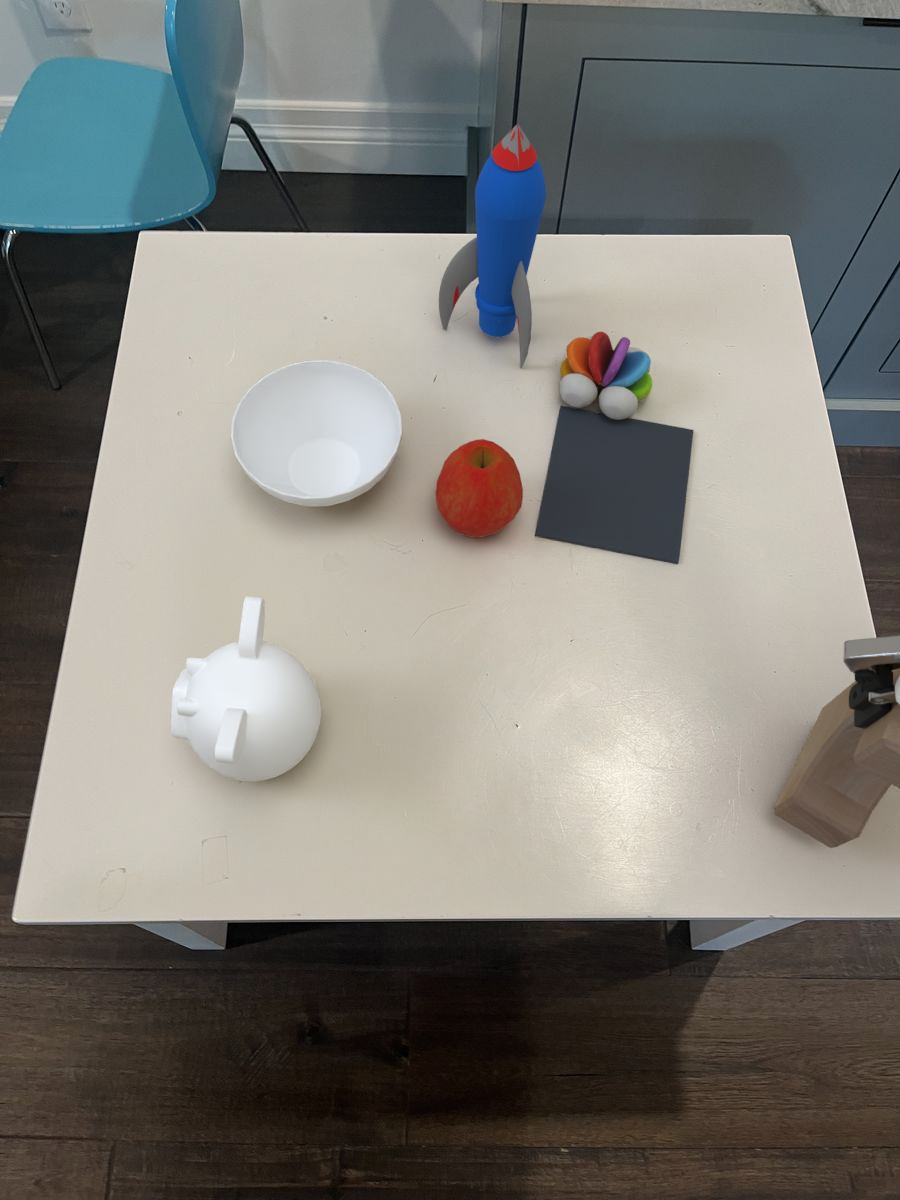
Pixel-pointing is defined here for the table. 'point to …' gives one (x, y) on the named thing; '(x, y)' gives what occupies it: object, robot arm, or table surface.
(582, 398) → the rainbow petal flower
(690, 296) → the table surface
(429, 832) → the table surface
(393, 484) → the table surface
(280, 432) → the bowl
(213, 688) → the piggy bank
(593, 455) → the mat
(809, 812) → the decorative block
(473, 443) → the apple
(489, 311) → the toy rocket
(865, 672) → the robot arm
